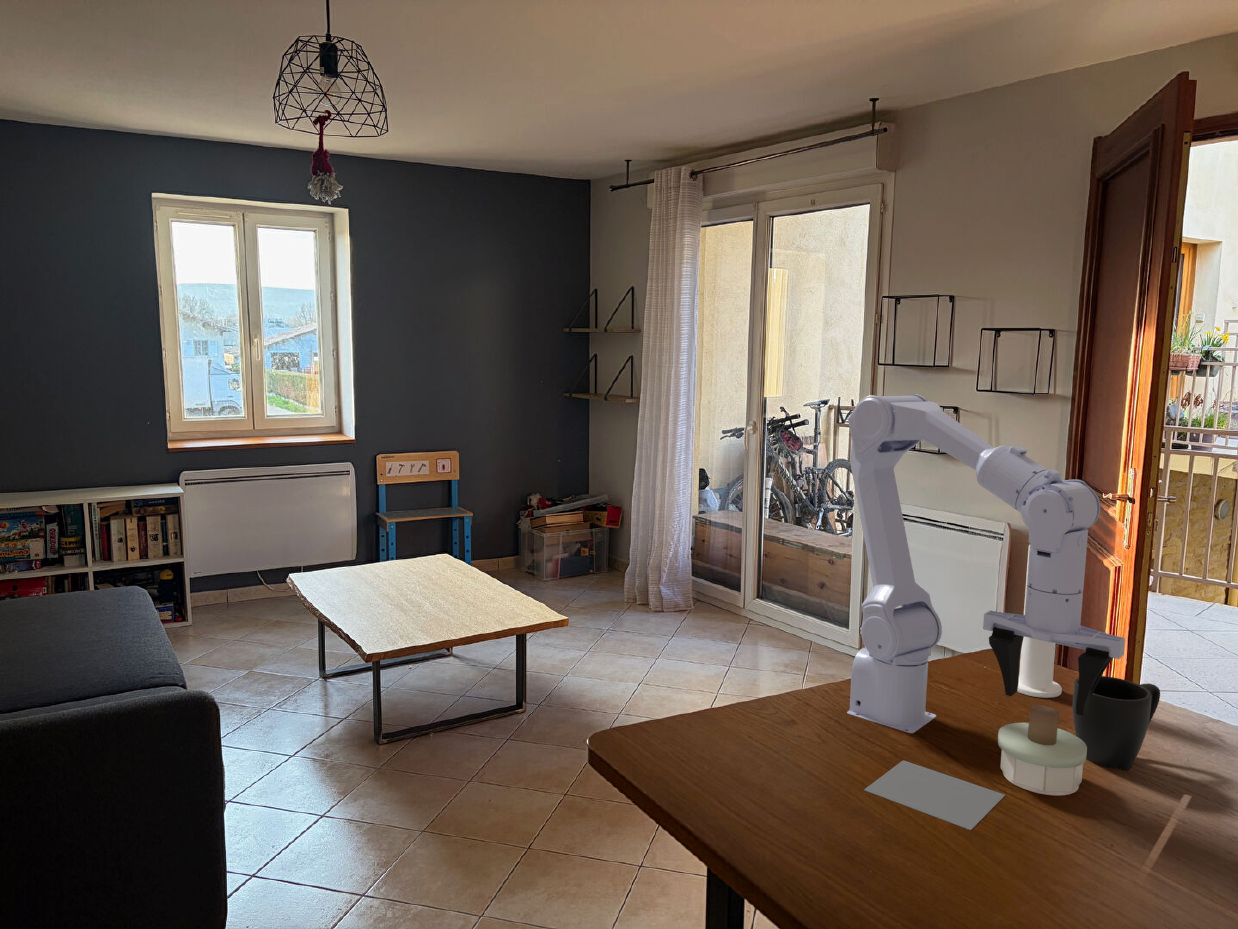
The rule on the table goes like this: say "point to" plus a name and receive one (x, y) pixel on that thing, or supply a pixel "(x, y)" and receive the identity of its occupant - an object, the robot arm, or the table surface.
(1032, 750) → the lid
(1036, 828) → the table surface
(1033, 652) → the candle
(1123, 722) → the mug
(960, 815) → the mat
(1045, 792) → the bowl
